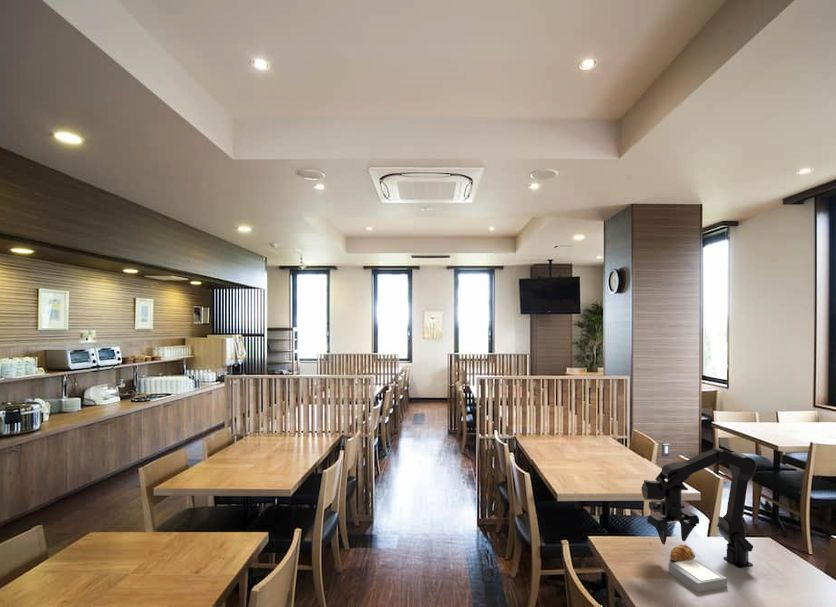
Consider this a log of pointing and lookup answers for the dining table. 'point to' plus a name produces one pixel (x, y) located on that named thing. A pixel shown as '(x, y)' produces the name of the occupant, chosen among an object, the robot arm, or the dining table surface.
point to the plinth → (697, 575)
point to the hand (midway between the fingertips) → (673, 542)
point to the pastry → (682, 553)
